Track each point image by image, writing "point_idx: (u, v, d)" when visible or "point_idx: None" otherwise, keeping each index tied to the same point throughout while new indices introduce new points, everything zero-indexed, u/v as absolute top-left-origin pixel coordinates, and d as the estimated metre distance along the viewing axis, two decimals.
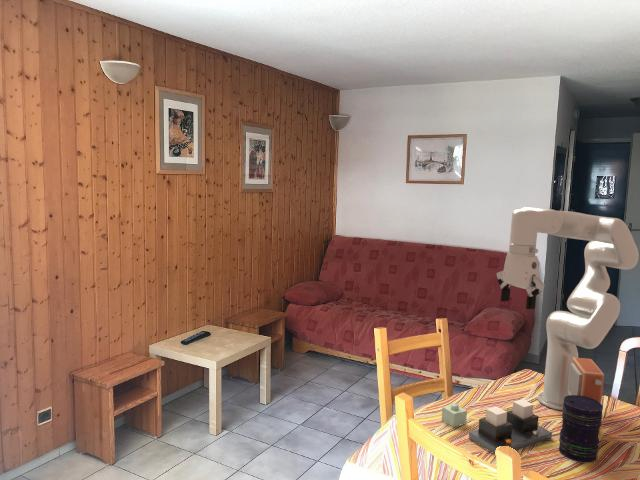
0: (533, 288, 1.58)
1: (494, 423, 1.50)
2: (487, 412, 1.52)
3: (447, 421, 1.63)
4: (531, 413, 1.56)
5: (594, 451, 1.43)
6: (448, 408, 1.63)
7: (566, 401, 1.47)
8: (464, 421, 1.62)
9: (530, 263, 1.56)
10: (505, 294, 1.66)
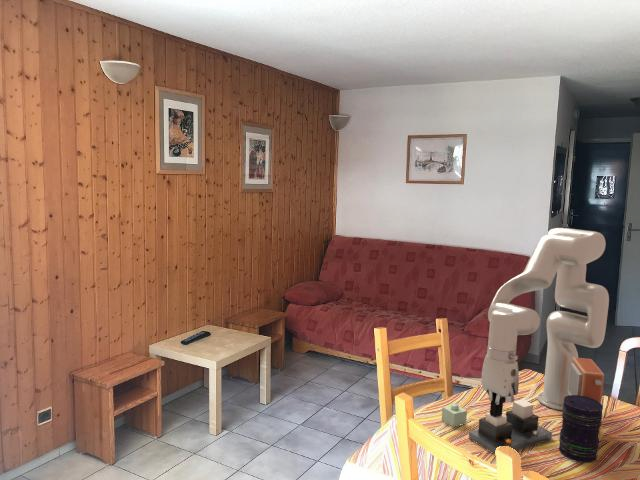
0: None
1: None
2: (487, 416, 1.52)
3: (447, 421, 1.63)
4: (531, 413, 1.56)
5: (594, 451, 1.43)
6: (448, 408, 1.63)
7: (566, 401, 1.47)
8: (464, 421, 1.62)
9: (509, 371, 1.45)
10: None
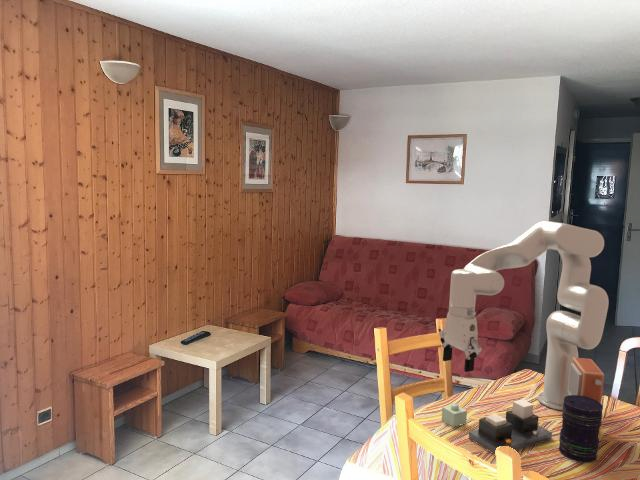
0: (472, 350, 1.57)
1: None
2: (486, 420, 1.52)
3: (447, 421, 1.63)
4: (531, 413, 1.56)
5: (594, 451, 1.43)
6: (448, 408, 1.63)
7: (566, 401, 1.47)
8: (464, 421, 1.62)
9: (468, 326, 1.55)
10: (447, 354, 1.65)
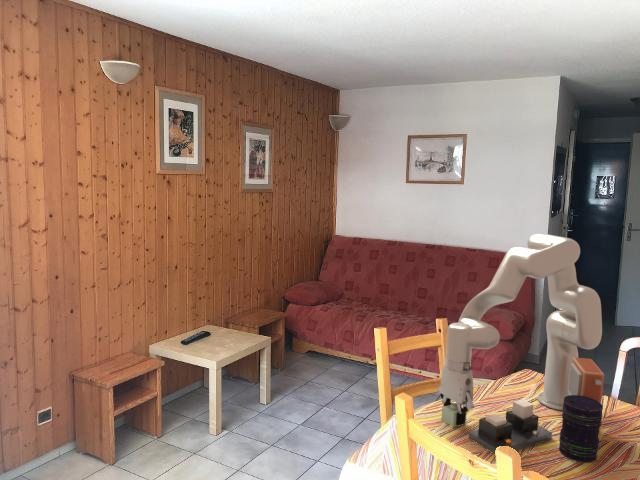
0: (464, 404, 1.60)
1: None
2: (486, 420, 1.52)
3: (447, 421, 1.63)
4: (531, 413, 1.56)
5: (594, 451, 1.43)
6: (448, 408, 1.63)
7: (566, 401, 1.47)
8: None
9: (464, 380, 1.57)
10: None
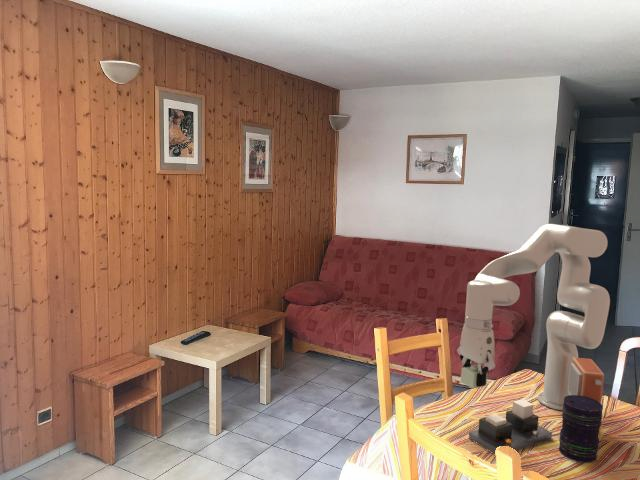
0: (485, 364, 1.54)
1: None
2: (486, 420, 1.52)
3: (466, 382, 1.56)
4: (531, 413, 1.56)
5: (594, 451, 1.43)
6: (468, 369, 1.57)
7: (566, 401, 1.47)
8: None
9: (485, 338, 1.51)
10: None
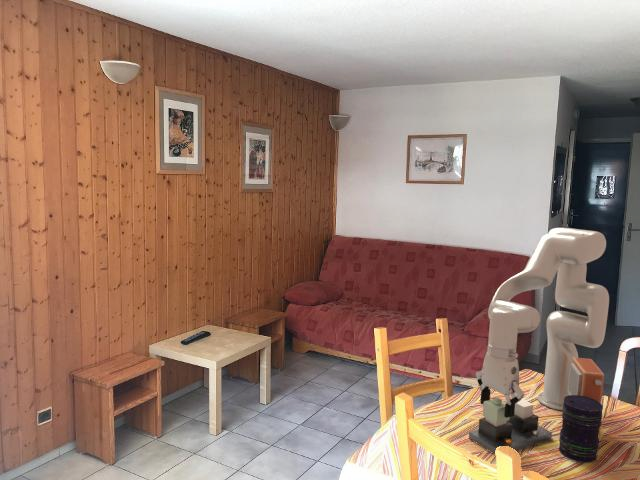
0: (512, 394, 1.47)
1: None
2: (486, 420, 1.52)
3: (489, 417, 1.51)
4: (531, 413, 1.56)
5: (594, 451, 1.43)
6: (490, 403, 1.51)
7: (566, 401, 1.47)
8: None
9: (510, 368, 1.45)
10: (485, 396, 1.55)
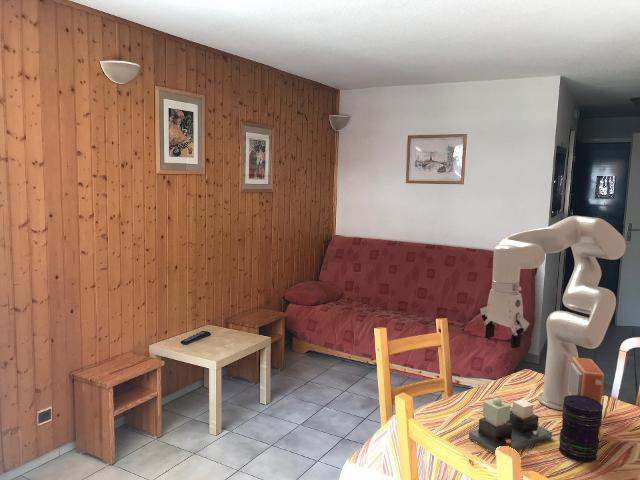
0: (518, 326, 1.54)
1: None
2: (486, 420, 1.52)
3: (489, 417, 1.51)
4: (531, 413, 1.56)
5: (594, 451, 1.43)
6: (490, 403, 1.51)
7: (566, 401, 1.47)
8: (507, 417, 1.51)
9: (514, 301, 1.52)
10: (489, 331, 1.62)
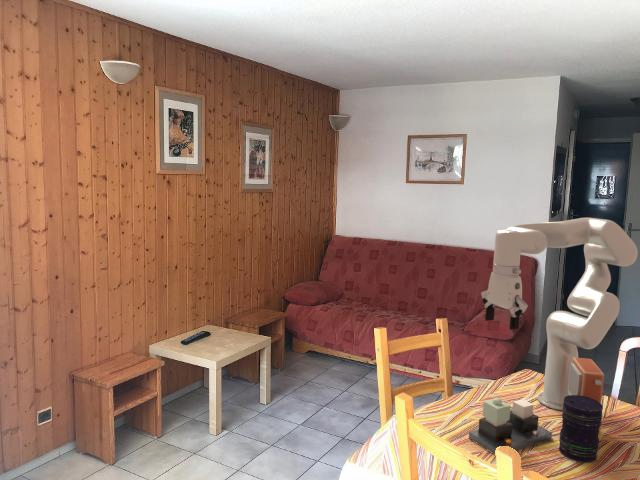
0: (516, 308, 1.59)
1: None
2: (486, 420, 1.52)
3: (489, 417, 1.51)
4: (531, 413, 1.56)
5: (594, 451, 1.43)
6: (490, 403, 1.51)
7: (566, 401, 1.47)
8: (507, 417, 1.51)
9: (513, 284, 1.57)
10: (489, 313, 1.67)
